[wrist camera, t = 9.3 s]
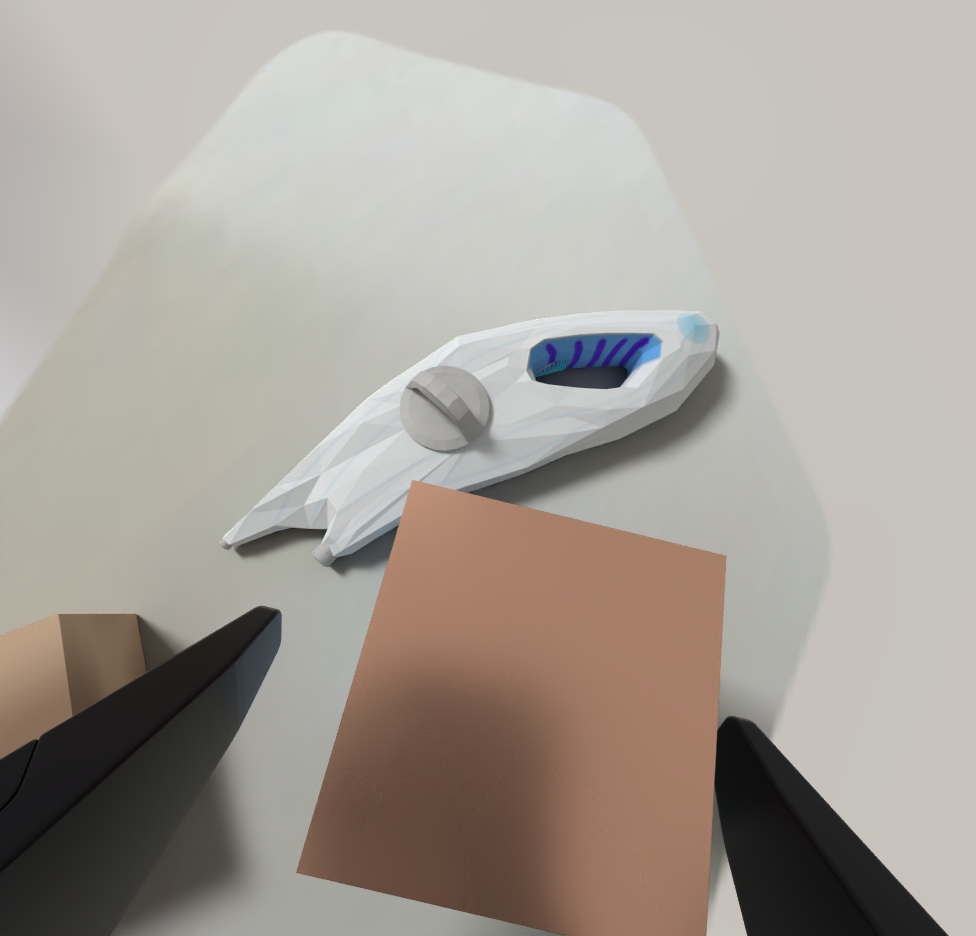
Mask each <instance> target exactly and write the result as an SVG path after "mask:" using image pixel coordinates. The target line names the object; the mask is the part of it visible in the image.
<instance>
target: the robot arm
mask: <svg viewBox="0 0 976 936" xmlns="http://www.w3.org/2000/svg"><path fill="white" fill-rule="evenodd" d="M281 621H282V615H281V612H280V610H278V609H275V608H270V607H266V606H258V607H256V608H254V609H252V610H251V611H249V612H247V613H245V614H244V615H242V616H240V617H239V618H237V619H235V620H234V621H232V622H230V623H229V624H227V625H225V626H224V627H222V628H220V629H219V630H217V631H215V632H213V633H212V634H210V635H208V636H207V637H205V638H203V639H202V640H200V641H198V642H197V643H195V644H193V645H192V646H190V647H188V648H187V649H185V650H183V651H181V652H180V653H178V654H176V655H175V656H173V657H171V658H170V659H168V660H166V661H165V662H163V663H161V664H160V665H158V666H156V667H154V668H153V669H151V670H149V671H148V672H146V673H144V674H143V675H141V676H139V677H138V678H136V679H134V680H133V681H131V682H129V683H128V684H126V685H124V686H122V687H121V688H119V689H117V690H116V691H114V692H112V693H111V694H109V695H107V696H106V697H104V698H102V699H101V700H99V701H97V702H96V703H94V704H92V705H90V706H89V707H87V708H85V709H84V710H82V711H80V712H79V713H77V714H75V715H74V716H72V717H70V718H69V719H67V720H65V721H64V722H62V723H60V724H58V725H57V726H55V727H53V728H52V729H50V730H48V731H47V732H45V733H43V734H42V735H41V736H40V737H39V739H33V740H31V741H30V742H28V743H26V744H24V745H23V746H21V747H19V748H18V749H16V750H14V751H13V752H11V753H9V754H8V755H6V756H4V757H3V758H1V759H0V936H111V934H112V933H113V931H114V930H115V928H116V926H117V925H118V923H119V922H120V920H121V918H122V917H123V915H124V914H125V912H126V910H127V909H128V907H129V906H130V904H131V902H132V901H133V899H134V897H135V896H136V894H137V893H138V891H139V889H140V888H141V886H142V885H143V883H144V881H145V880H146V878H147V877H148V875H149V873H150V872H151V870H152V869H153V867H154V865H155V864H156V862H157V861H158V859H159V857H160V856H161V854H162V853H163V851H164V849H165V848H166V846H167V845H168V843H169V841H170V840H171V838H172V837H173V835H174V833H175V832H176V830H177V828H178V827H179V825H180V824H181V822H182V820H183V819H184V817H185V816H186V814H187V812H188V811H189V809H190V808H191V806H192V804H193V803H194V801H195V800H196V798H197V796H198V795H199V793H200V792H201V790H202V788H203V787H204V785H205V784H206V782H207V780H208V779H209V777H210V776H211V774H212V772H213V771H214V769H215V768H216V766H217V764H218V763H219V761H220V759H221V758H222V756H223V755H224V753H225V751H226V750H227V748H228V747H229V745H230V743H231V742H232V740H233V738H234V737H235V735H236V733H237V732H238V730H239V728H240V726H241V724H242V722H243V720H244V718H245V716H246V714H247V712H248V710H249V708H250V706H251V704H252V702H253V700H254V698H255V696H256V694H257V692H258V690H259V688H260V686H261V684H262V682H263V680H264V678H265V676H266V674H267V672H268V670H269V668H270V666H271V664H272V662H273V660H274V658H275V656H276V654H277V652H278V649H279V647H280V643H281ZM714 786H715V792H716V798H717V804H718V811H719V817H720V823H721V829H722V834H723V839H724V844H725V848H726V853H727V857H728V861H729V865H730V869H731V873H732V877H733V881H734V885H735V889H736V892H737V897H738V901H739V905H740V909H741V912H742V916H743V921H744V925H745V929H746V932H747V936H948V935H947V933H946V932H945V931H944V930H943V929H942V928H941V927H940V926H939V925H938V924H937V923H936V921H935V920H934V919H933V918H932V917H931V916H930V915H929V914H928V913H927V912H926V910H925V909H924V908H923V907H922V906H921V905H920V904H919V903H918V902H917V901H916V900H915V899H914V897H913V896H912V895H911V894H910V893H909V892H908V891H907V890H906V889H905V888H904V886H903V885H902V884H901V883H900V882H899V881H898V880H897V879H896V878H895V877H894V876H893V874H892V873H891V872H890V871H889V870H888V869H887V868H886V867H885V866H884V865H883V864H882V862H881V861H880V860H879V859H878V858H877V857H876V856H875V855H874V854H873V852H871V850H870V849H869V848H868V847H867V846H866V845H865V844H864V843H863V842H862V840H861V839H860V838H859V837H858V836H857V835H856V834H855V833H854V832H853V831H852V830H851V828H850V827H848V825H847V824H846V823H845V822H844V821H843V820H842V819H841V817H840V816H839V815H838V814H837V813H836V812H835V811H834V810H833V809H832V808H831V807H830V805H829V804H828V803H827V802H826V801H825V800H824V799H823V798H822V797H821V796H820V794H819V793H818V792H817V791H816V790H815V789H814V788H813V787H812V786H811V785H810V784H809V782H808V781H807V780H806V779H805V778H804V777H803V776H802V775H801V774H800V773H799V772H798V770H797V769H796V768H795V767H794V766H793V765H792V764H791V763H790V762H789V761H788V759H786V757H784V755H783V754H782V753H781V752H780V751H779V750H778V749H777V748H776V746H775V745H774V744H773V743H772V742H771V741H770V740H769V739H768V738H767V736H766V735H765V734H764V733H763V732H762V731H761V730H760V729H759V728H758V727H757V726H756V725H755V724H754V723H753V722H752V721H750V720H748V719H744V718H740V717H736V716H729V717H727V718H726V719H725V720H724V722H723V723H722V724H721V726H720V727H719V729H718V730H717V742H716V761H715V780H714Z"/></svg>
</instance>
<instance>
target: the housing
mask: <svg viewBox="0 0 976 936" xmlns="http://www.w3.org/2000/svg"><path fill="white" fill-rule="evenodd" d="M725 572H726V556H725V555H720V554H716V553H712V552H708V551H704V550H700V549H696V548H692V547H688V546H683V545H679V544H675V543H671V542H667V541H663V540H659V539H655V538H650V537H646V536H642V535H638V534H634V533H630V532H626V531H622V530H618V529H613V528H609V527H605V526H601V525H597V524H593V523H589V522H585V521H580V520H576V519H572V518H568V517H564V516H560V515H556V514H552V513H548V512H543V511H539V510H535V509H531V508H527V507H523V506H519V505H515V504H510V503H506V502H502V501H498V500H494V499H490V498H486V497H482V496H478V495H473V494H469V493H465V492H461V491H457V490H453V489H449V488H445V487H440V486H436V485H432V484H428V483H424V482H420V481H416V480H412V483H411V486H410V489H409V493H408V496H407V499H406V503H405V506H404V510H403V513H402V516H401V520H400V523H399V527H398V530H397V533H396V537H395V540H394V543H393V547H392V550H391V554H390V557H389V560H388V564H387V567H386V570H385V574H384V577H383V581H382V584H381V587H380V591H379V594H378V598H377V601H376V604H375V608H374V611H373V614H372V618H371V621H370V625H369V628H368V631H367V635H366V638H365V642H364V645H363V648H362V652H361V655H360V658H359V662H358V665H357V669H356V672H355V675H354V679H353V682H352V686H351V689H350V692H349V696H348V699H347V702H346V706H345V709H344V713H343V716H342V719H341V723H340V726H339V729H338V733H337V736H336V740H335V743H334V746H333V750H332V753H331V757H330V760H329V763H328V767H327V770H326V773H325V777H324V780H323V784H322V787H321V790H320V794H319V797H318V801H317V804H316V807H315V811H314V814H313V817H312V821H311V824H310V828H309V831H308V834H307V838H306V841H305V845H304V848H303V851H302V855H301V858H300V861H299V865H298V868H297V872H296V873H300V874H304V875H308V876H313V877H317V878H321V879H326V880H330V881H334V882H339V883H343V884H347V885H351V886H356V887H360V888H364V889H369V890H373V891H377V892H381V893H386V894H390V895H394V896H399V897H403V898H407V899H411V900H416V901H420V902H424V903H429V904H433V905H437V906H441V907H446V908H450V909H454V910H459V911H463V912H467V913H471V914H476V915H480V916H484V917H489V918H493V919H497V920H501V921H506V922H510V923H514V924H519V925H523V926H527V927H531V928H536V929H540V930H544V931H549V932H553V933H557V934H561V935H566V936H706V931H707V912H708V893H709V874H710V856H711V837H712V818H713V799H714V780H715V761H716V742H717V723H718V704H719V685H720V667H721V648H722V629H723V610H724V591H725Z"/></svg>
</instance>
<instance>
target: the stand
mask: <svg viewBox="0 0 976 936" xmlns="http://www.w3.org/2000/svg"><path fill="white" fill-rule="evenodd" d="M146 672H147V669H146V664H145V659H144V653H143V648H142V642H141V637H140V632H139V626H138V621H137V615H136V614H58V615H55V616H52V617H49V618H47V619H44V620H41V621H38V622H36V623H33V624H30V625H27V626H25V627H22V628H19V629H16V630H14V631H11V632H8V633H5V634H3V635H0V759H1V758H3V757H4V756H6V755H8V754H9V753H11V752H13V751H14V750H16V749H18V748H19V747H21V746H23V745H24V744H26V743H28V742H30V741H31V740H33V739H39V737H40V736H41V735H42V734H43V733H45V732H47V731H48V730H50V729H52V728H53V727H55V726H57V725H58V724H60V723H62V722H64V721H65V720H67V719H69V718H70V717H72V716H74V715H75V714H77V713H79V712H80V711H82V710H84V709H85V708H87V707H89V706H90V705H92V704H94V703H96V702H97V701H99V700H101V699H102V698H104V697H106V696H107V695H109V694H111V693H112V692H114V691H116V690H117V689H119V688H121V687H122V686H124V685H126V684H128V683H129V682H131V681H133V680H134V679H136V678H138V677H139V676H141V675H143V674H144V673H146Z"/></svg>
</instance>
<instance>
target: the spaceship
mask: <svg viewBox="0 0 976 936" xmlns="http://www.w3.org/2000/svg"><path fill="white" fill-rule="evenodd" d="M718 339H719V330H718V326H717V323H716V322H714V321H713V320H712V319H711V318H710V317H708V316H707V315H706V314H705V313H704V312H703V311H676V310H624V311H607V312H589V313H580V314H572V315H564V316H556V317H548V318H540V319H534V320H529V321H525V322H520V323H516V324H511V325H507V326H502V327H498V328H493V329H489V330H485V331H480V332H476V333H471V334H467V335H462V336H458V337H456V338H454V339H453V340H451V341H450V342H448V343H447V344H445V345H444V346H442V347H441V348H439V349H438V350H436V351H435V352H433V353H432V354H430V355H429V356H427V357H426V358H424V359H423V360H421V361H420V362H418V363H417V364H415V365H414V366H412V367H411V368H409V369H408V370H406V371H405V372H403V373H402V374H400V375H399V376H397V377H396V378H394V379H392V380H391V381H390V382H388V383H387V384H386V385H384V386H383V387H382V388H380V389H379V390H378V391H376V392H375V393H374V394H372V395H371V396H370V397H368V398H367V399H366V400H365V401H363V402H362V403H361V404H360V405H359V406H358V407H357V408H356V409H355V410H354V411H353V412H352V413H351V414H350V415H349V416H348V417H347V418H346V419H345V420H344V421H343V422H342V423H341V424H340V425H339V426H338V427H337V428H336V429H334V430H333V431H332V432H331V433H330V434H329V435H328V436H327V437H326V438H325V439H324V440H323V441H322V442H321V443H320V444H319V445H318V446H317V447H316V448H315V449H314V450H312V451H311V452H310V453H309V454H308V455H307V456H306V457H305V458H304V459H303V460H302V461H301V462H300V463H299V464H298V465H297V466H296V467H295V468H294V469H293V470H292V471H291V472H289V473H288V474H287V475H286V476H285V477H284V478H283V479H282V480H281V481H280V482H279V483H278V484H277V485H276V486H275V487H274V488H273V489H272V490H271V491H270V492H269V493H268V494H267V495H266V496H265V497H264V498H263V499H262V500H261V501H260V502H259V503H257V504H256V505H255V506H254V507H253V508H252V509H251V510H250V511H249V512H248V513H247V514H246V515H245V516H244V517H243V518H242V519H241V520H240V521H239V522H238V523H237V524H236V525H235V526H234V527H233V528H232V529H231V530H230V531H229V532H228V533H227V534H226V535H225V536H224V537H223V539H222V540H221V541H220V542H219V544H220V545H221V546H222V547H223V548H225V549H227V550H229V549H230V548H231V547H232V546H234V547H236V546H239V545H241V544H244V543H247V542H249V541H252V540H254V539H257V538H260V537H262V536H265V535H268V534H270V533H273V532H276V531H280V530H284V529H288V528H305V529H328V530H327V532H326V534H325V536H324V538H323V540H322V543H321V544H320V545H319V546H318V547H317V548H316V549H315V550H314V551H313V552H312V554H313V556H314V557H315V559H316V560H318V561H319V562H320V563H321V564H322V565H324V566H326V567H329V566H330V565H331V563H332V562H333V561H334V560H335V559H336V558H337V557H341V556H345V555H349V554H352V553H354V552H355V551H357V550H359V549H360V548H362V547H363V546H365V545H367V544H368V543H370V542H371V541H373V540H375V539H376V538H378V537H379V536H381V535H383V534H385V533H386V532H388V531H390V530H391V529H393V528H395V527H396V526H398V525H399V523H400V520H401V516H402V513H403V510H404V506H405V503H406V499H407V496H408V493H409V489H410V486H411V483H412V480H416V481H420V482H424V483H428V484H432V485H436V486H440V487H445V488H449V489H453V490H457V491H461V492H465V493H468V492H471V491H475V490H478V489H481V488H483V487H486V486H489V485H492V484H495V483H498V482H501V481H504V480H507V479H510V478H513V477H516V476H519V475H522V474H525V473H527V472H529V471H531V470H534V469H536V468H538V467H540V466H543V465H545V464H547V463H550V462H552V461H554V460H556V459H559V458H561V457H563V456H565V455H569V454H572V453H575V452H579V451H582V450H585V449H588V448H592V447H595V446H598V445H602V444H605V443H608V442H612V441H615V440H618V439H621V438H623V437H625V436H627V435H629V434H631V433H633V432H635V431H637V430H639V429H641V428H643V427H645V426H647V425H649V424H651V423H653V422H655V421H657V420H659V419H661V418H663V417H665V416H667V415H669V414H671V413H673V412H675V411H677V409H678V408H679V407H680V406H681V405H682V403H683V402H684V401H685V400H686V399H687V397H688V396H689V395H690V394H691V393H692V391H693V390H694V389H695V388H696V387H697V385H698V384H699V383H700V382H701V381H702V379H703V378H704V377H705V376H706V375H707V373H708V372H709V371H710V370H711V369H712V367H713V366H714V362H715V356H716V351H717V345H718ZM585 367H624V368H625V369H627V370H628V373H627V379H626V381H625V382H624V383H623V384H622V385H621V386H620V387H619V388H612V389H591V388H576V387H567V386H558V385H549V384H544V383H540V382H537V381H536V379H535V377H539V376H543V375H546V374H550V373H554V372H558V371H562V370H564V369H570V368H585Z"/></svg>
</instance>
